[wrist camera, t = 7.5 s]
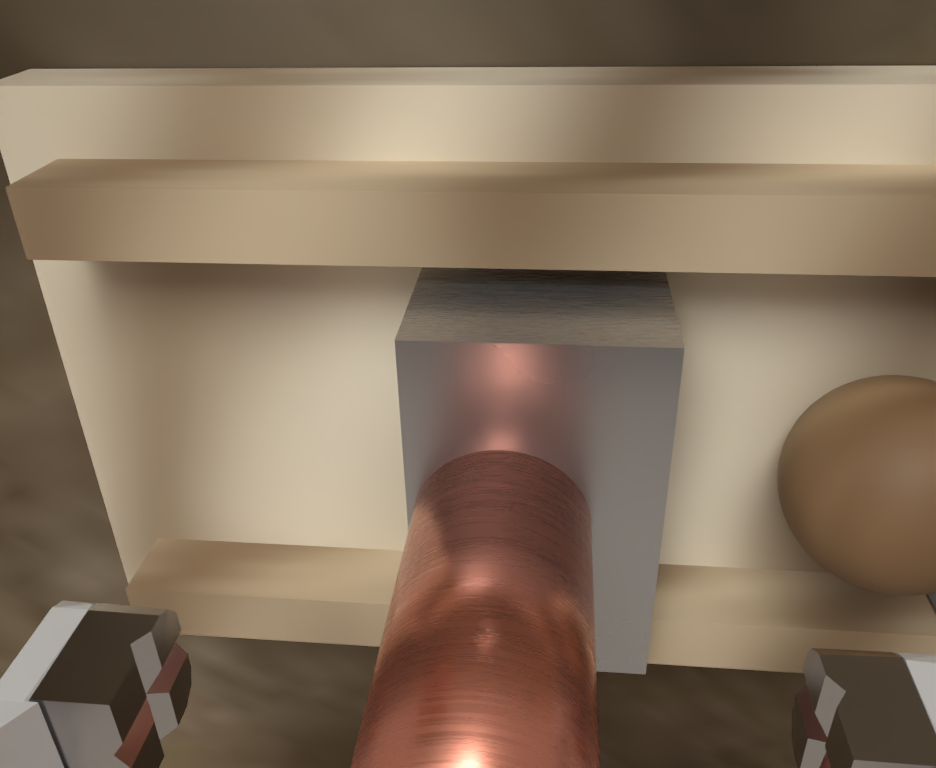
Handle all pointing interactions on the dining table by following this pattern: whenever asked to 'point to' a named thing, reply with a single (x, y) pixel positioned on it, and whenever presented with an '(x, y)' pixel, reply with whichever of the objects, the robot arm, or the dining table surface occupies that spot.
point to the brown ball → (866, 483)
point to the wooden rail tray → (465, 246)
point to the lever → (523, 513)
